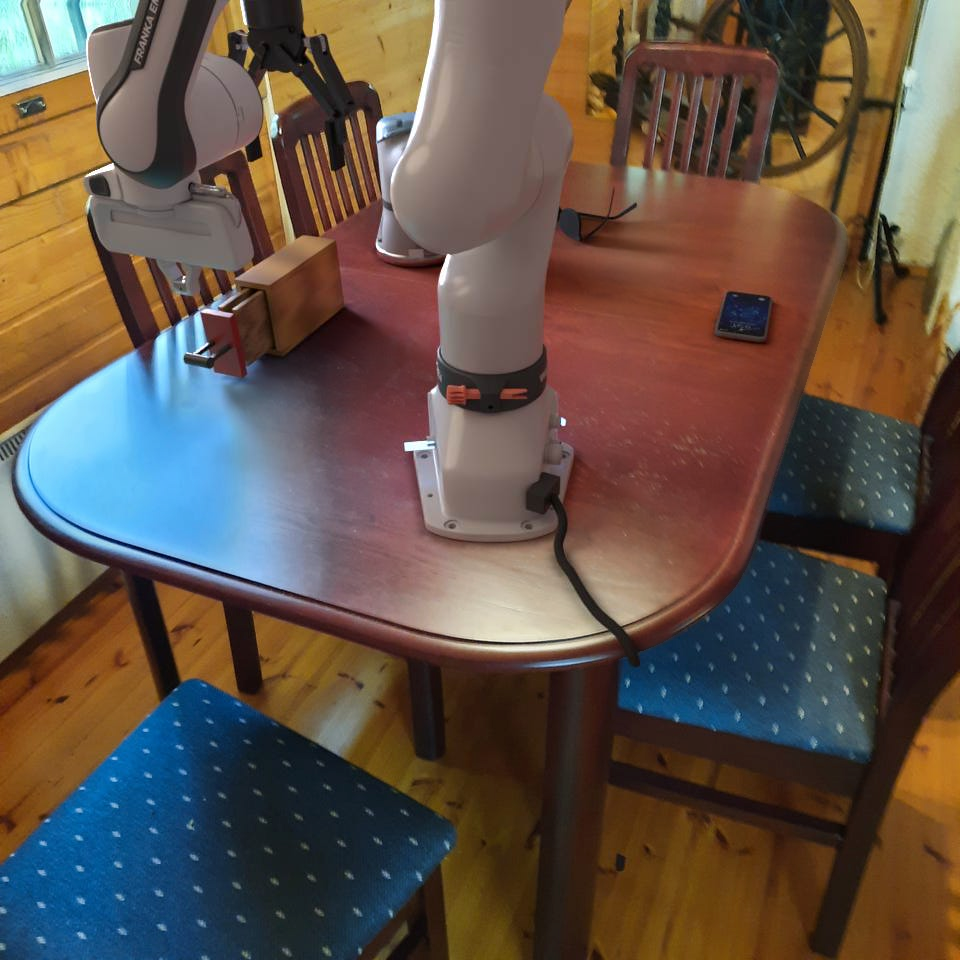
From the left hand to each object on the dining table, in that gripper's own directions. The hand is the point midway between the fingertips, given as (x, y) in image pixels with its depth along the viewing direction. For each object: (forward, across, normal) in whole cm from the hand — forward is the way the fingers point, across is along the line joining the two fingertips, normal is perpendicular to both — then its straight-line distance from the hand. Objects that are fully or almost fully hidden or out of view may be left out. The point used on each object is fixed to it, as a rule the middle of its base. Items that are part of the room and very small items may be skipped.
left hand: (296, 164), depth 120 cm
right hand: (+8, 0, +27) cm, 28 cm away
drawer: (+22, 0, +17) cm, 28 cm away
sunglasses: (+23, -29, -50) cm, 63 cm away
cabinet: (+23, 0, +5) cm, 23 cm away
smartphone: (+23, -62, -20) cm, 69 cm away
